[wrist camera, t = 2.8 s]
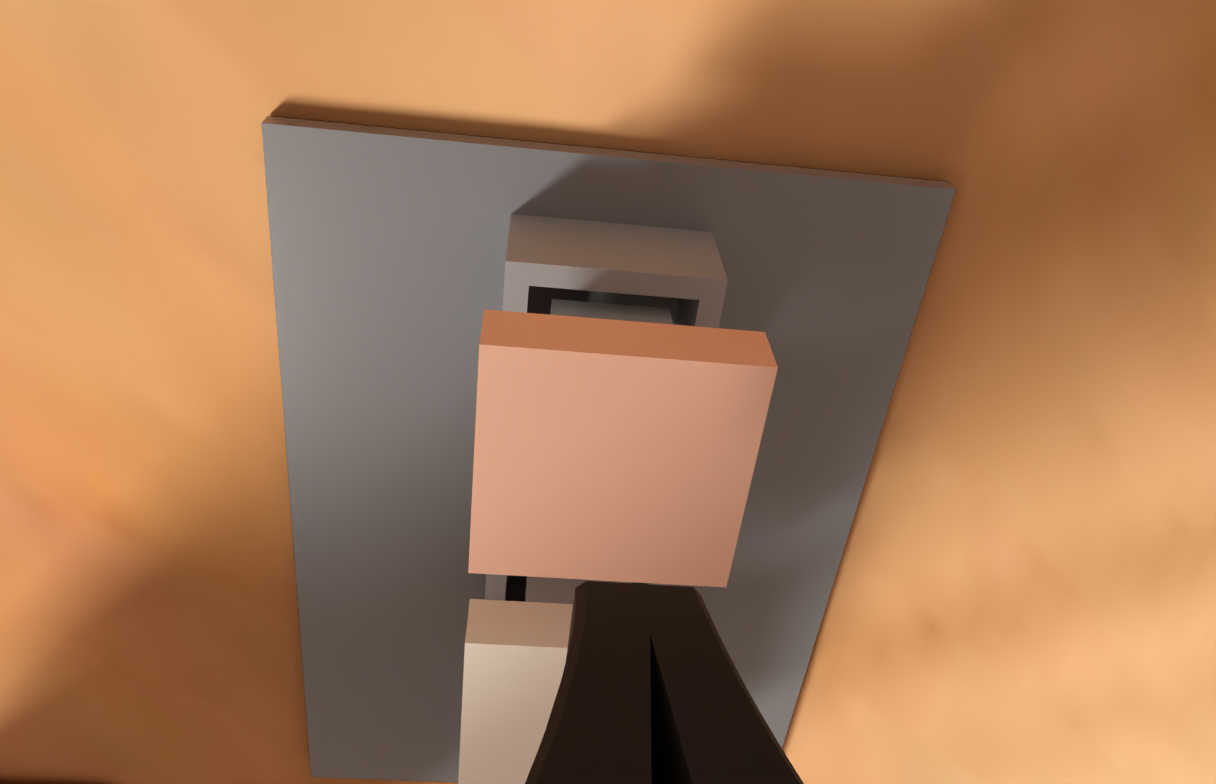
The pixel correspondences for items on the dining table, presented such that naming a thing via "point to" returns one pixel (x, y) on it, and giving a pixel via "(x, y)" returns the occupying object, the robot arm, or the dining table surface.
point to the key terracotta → (614, 444)
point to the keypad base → (527, 282)
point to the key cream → (512, 679)
